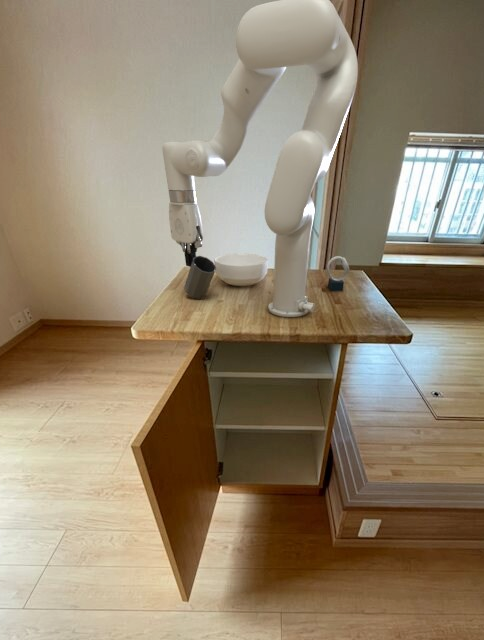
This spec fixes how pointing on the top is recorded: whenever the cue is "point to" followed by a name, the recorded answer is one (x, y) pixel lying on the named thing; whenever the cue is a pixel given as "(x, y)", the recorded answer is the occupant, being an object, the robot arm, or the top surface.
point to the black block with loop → (337, 283)
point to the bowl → (241, 268)
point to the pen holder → (199, 277)
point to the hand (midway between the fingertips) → (191, 265)
